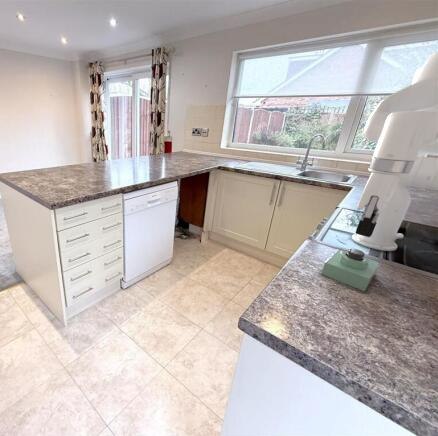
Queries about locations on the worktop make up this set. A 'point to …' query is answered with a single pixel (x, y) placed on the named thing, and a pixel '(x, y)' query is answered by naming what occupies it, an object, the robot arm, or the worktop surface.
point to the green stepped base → (350, 270)
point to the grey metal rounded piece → (355, 254)
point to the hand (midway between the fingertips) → (363, 234)
